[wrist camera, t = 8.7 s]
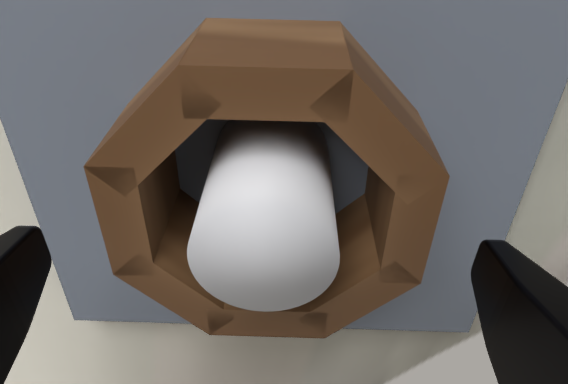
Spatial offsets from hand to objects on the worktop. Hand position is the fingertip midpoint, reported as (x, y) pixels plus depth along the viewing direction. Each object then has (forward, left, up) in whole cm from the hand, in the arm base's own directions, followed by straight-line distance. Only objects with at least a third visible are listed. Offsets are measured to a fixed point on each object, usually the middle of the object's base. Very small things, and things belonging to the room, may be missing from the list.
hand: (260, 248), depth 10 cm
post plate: (0, 0, -4) cm, 5 cm away
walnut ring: (0, 0, -4) cm, 4 cm away
